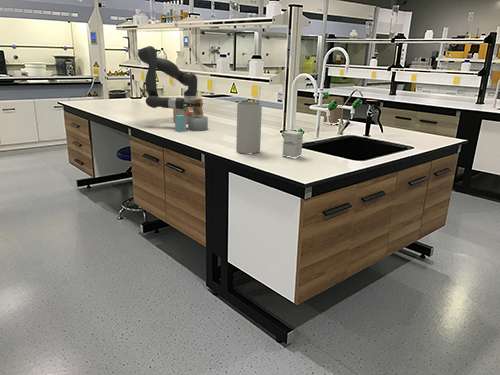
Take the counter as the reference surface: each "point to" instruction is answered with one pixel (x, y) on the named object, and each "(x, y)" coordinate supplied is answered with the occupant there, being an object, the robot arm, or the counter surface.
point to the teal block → (180, 123)
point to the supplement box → (292, 143)
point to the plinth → (197, 123)
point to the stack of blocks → (184, 113)
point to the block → (336, 112)
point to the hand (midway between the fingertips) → (201, 104)
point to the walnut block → (197, 109)
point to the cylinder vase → (248, 127)
